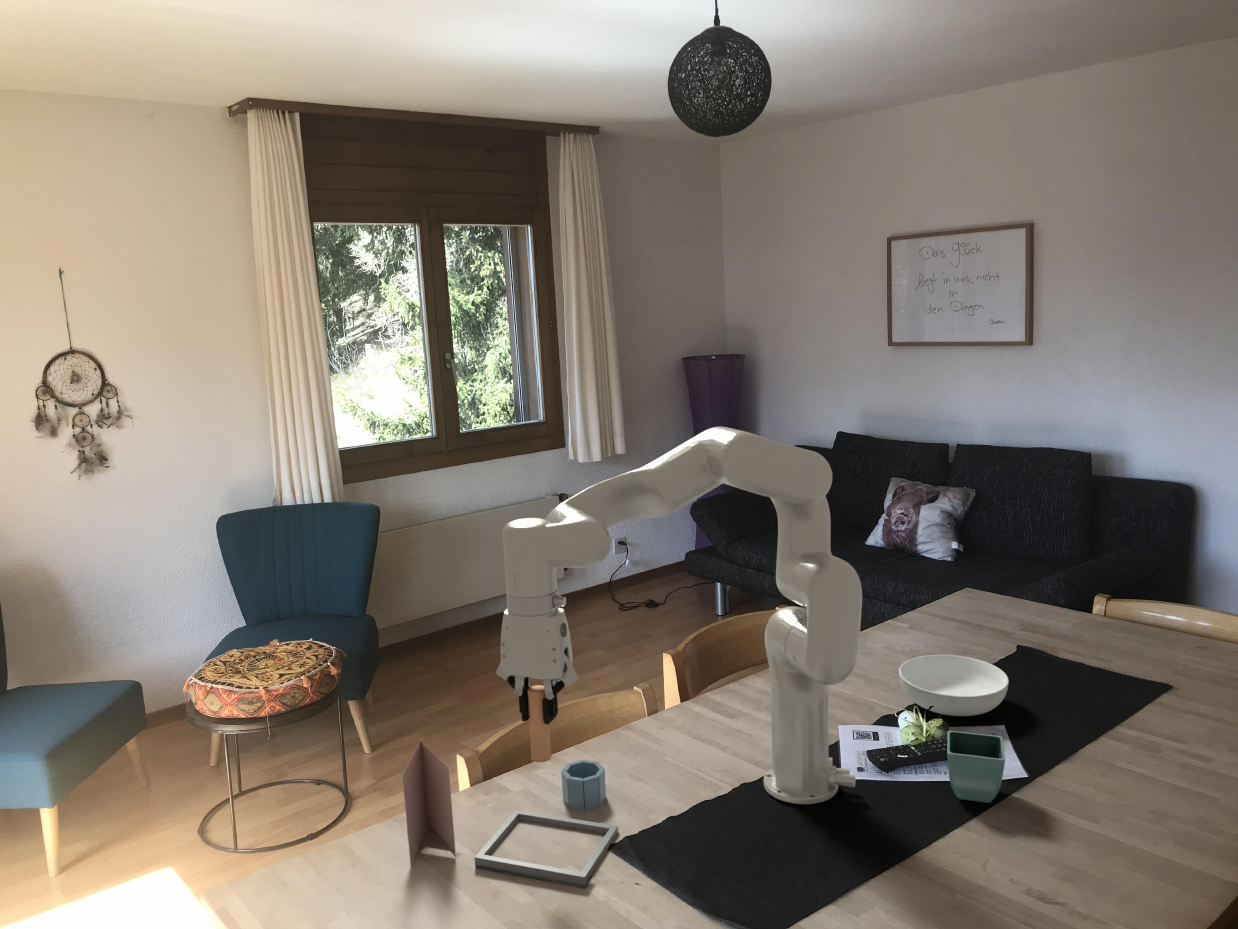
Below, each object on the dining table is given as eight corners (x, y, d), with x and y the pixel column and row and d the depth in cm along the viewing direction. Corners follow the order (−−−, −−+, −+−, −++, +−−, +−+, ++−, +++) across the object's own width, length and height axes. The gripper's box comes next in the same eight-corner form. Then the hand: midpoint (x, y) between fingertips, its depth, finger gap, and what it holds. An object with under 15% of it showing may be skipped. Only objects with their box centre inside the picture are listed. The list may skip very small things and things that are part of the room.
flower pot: (1001, 784, 160) (1002, 735, 159) (1004, 811, 152) (1005, 759, 150) (946, 778, 163) (947, 729, 162) (946, 804, 155) (947, 753, 153)
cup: (610, 795, 162) (608, 763, 161) (596, 816, 156) (594, 782, 155) (574, 790, 165) (572, 758, 164) (558, 810, 158) (556, 777, 157)
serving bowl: (893, 721, 186) (893, 688, 184) (904, 680, 205) (904, 650, 204) (1007, 735, 178) (1008, 700, 177) (1007, 691, 197) (1008, 660, 196)
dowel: (554, 754, 145) (550, 686, 143) (546, 763, 142) (542, 694, 140) (536, 751, 146) (532, 684, 144) (528, 760, 143) (524, 692, 141)
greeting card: (422, 825, 156) (415, 740, 153) (467, 824, 156) (460, 739, 153) (405, 866, 145) (396, 775, 142) (453, 865, 144) (445, 774, 142)
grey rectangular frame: (618, 836, 150) (617, 826, 150) (585, 888, 137) (584, 877, 137) (516, 819, 156) (515, 809, 156) (475, 868, 143) (474, 857, 143)
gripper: (593, 598, 140) (598, 715, 143) (494, 591, 146) (502, 703, 149) (573, 614, 133) (579, 736, 136) (471, 606, 139) (479, 723, 142)
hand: (539, 718), depth 143 cm, fingers closed on dowel, 3 cm apart
